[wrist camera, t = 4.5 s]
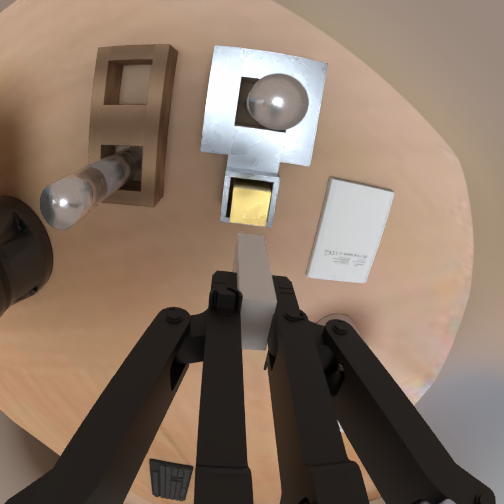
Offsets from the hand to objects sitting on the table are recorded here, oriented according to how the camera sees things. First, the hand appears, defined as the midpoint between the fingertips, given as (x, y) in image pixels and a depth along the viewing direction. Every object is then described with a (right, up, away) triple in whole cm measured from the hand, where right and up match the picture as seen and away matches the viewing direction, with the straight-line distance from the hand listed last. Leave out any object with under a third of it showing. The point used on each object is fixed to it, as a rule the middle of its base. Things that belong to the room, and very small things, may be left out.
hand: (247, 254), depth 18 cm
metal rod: (+1, +15, +11) cm, 19 cm away
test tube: (-13, +10, +13) cm, 21 cm away
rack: (-12, +14, +11) cm, 22 cm away
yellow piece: (0, +7, +14) cm, 15 cm away
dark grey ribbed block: (-24, -68, +52) cm, 90 cm away
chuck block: (+1, +12, +12) cm, 17 cm away
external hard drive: (+12, +3, +18) cm, 22 cm away
